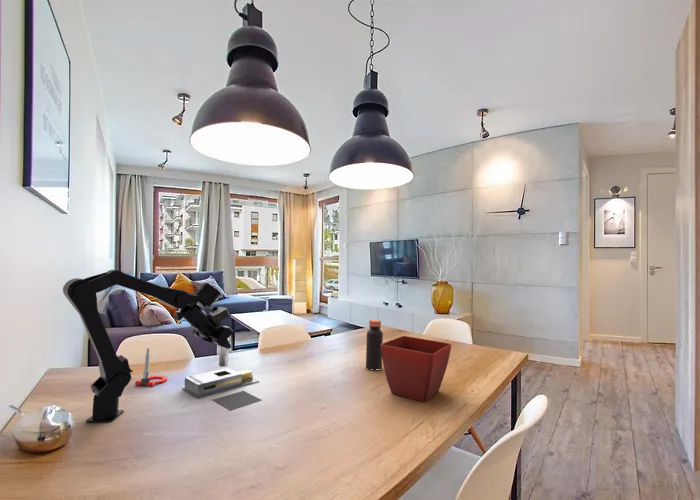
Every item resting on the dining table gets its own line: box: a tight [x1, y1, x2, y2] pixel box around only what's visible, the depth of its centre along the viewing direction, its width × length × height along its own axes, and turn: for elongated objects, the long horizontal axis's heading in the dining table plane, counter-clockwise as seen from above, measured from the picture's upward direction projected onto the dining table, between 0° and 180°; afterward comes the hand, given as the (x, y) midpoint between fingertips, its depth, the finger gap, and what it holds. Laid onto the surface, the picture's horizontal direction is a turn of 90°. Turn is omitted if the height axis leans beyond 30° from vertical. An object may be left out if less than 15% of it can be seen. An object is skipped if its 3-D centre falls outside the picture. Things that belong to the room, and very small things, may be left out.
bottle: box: [365, 319, 384, 371], centre depth 146 cm, size 7×7×20 cm
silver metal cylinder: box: [218, 337, 230, 368], centre depth 120 cm, size 4×4×12 cm
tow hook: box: [134, 347, 168, 388], centre depth 123 cm, size 8×13×9 cm
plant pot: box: [381, 335, 452, 403], centre depth 120 cm, size 19×19×17 cm
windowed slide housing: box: [181, 367, 260, 400], centre depth 120 cm, size 22×12×4 cm, turn 138°
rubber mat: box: [212, 390, 263, 412], centre depth 108 cm, size 11×11×1 cm
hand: (227, 346), depth 121 cm, fingers closed on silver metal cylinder, 3 cm apart
